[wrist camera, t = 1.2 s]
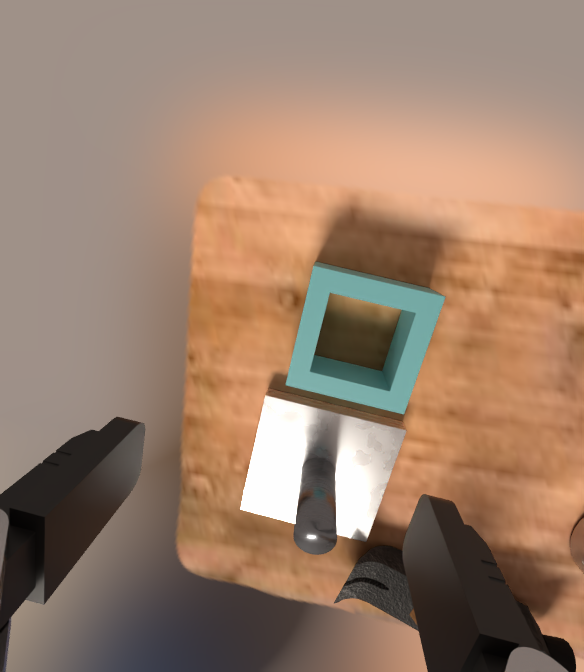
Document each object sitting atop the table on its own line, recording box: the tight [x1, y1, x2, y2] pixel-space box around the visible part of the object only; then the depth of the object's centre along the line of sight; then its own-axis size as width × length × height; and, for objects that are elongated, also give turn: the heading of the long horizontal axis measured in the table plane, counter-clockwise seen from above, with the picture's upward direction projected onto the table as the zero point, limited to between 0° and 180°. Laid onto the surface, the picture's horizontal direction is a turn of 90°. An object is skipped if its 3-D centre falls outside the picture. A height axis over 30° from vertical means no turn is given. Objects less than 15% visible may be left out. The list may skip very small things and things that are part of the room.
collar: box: [286, 262, 445, 414], centre depth 27 cm, size 9×9×4 cm
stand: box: [240, 388, 406, 555], centre depth 29 cm, size 12×12×8 cm
